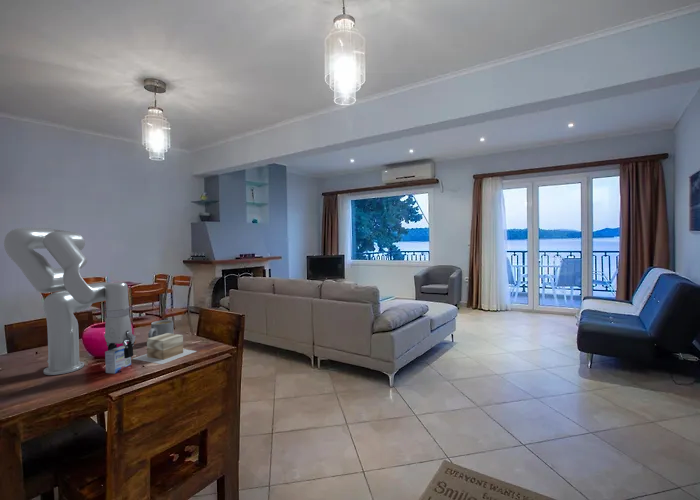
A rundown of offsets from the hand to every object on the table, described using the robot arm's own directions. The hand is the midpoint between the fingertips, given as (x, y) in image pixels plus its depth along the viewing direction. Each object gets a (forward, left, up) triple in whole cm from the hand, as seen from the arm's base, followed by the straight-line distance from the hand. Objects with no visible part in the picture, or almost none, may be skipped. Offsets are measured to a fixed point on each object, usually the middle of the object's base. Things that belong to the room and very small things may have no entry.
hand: (120, 356), depth 138 cm
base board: (+3, +18, -6) cm, 19 cm away
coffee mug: (-20, +33, -6) cm, 39 cm away
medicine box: (-1, 0, -6) cm, 6 cm away
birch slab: (+3, +18, -1) cm, 18 cm away
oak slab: (+3, +18, -5) cm, 18 cm away
